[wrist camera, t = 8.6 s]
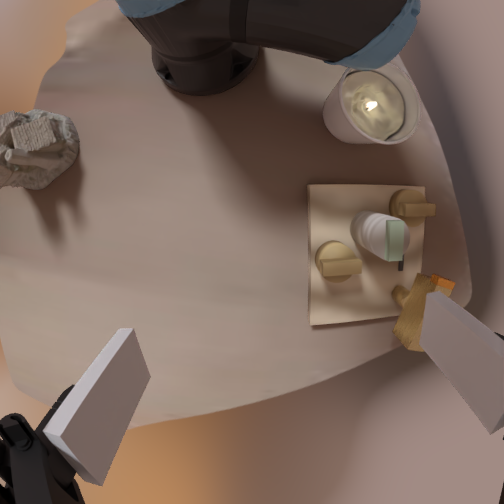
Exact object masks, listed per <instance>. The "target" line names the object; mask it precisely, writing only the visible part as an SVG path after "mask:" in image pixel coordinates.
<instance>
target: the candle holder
mask: <svg viewBox="0 0 504 504" xmlns="http://www.w3.org/2000/svg"><path fill="white" fill-rule="evenodd" d="M421 112H422V108H421V101H420V97H419V94H418V91H417V89H416V87H415V85H414V84H413V82H412V81H411V79H410V78H409V77H408V76H407V75H406V74H405V73H404V72H403V71H402V70H401V69H400V68H398V67H397V66H395V65H394V64H392V63H390V62H389V63H387V64H386V65H384V66H382V67H380V68H378V69H373V70H369V71H360V70H356V69H353V68H349V67H348V68H347V69H346V71H345V72H344V74H343V75H342V77H341V79H340V80H339V82H338V83H337V84H336V86H335V87H334V89H333V90H332V91H331V93H330V94H329V96H328V97H327V99H326V101H325V103H324V106H323V119H324V122H325V125H326V127H327V129H328V130H329V131H330V133H331V134H332V135H333V136H334V137H336V138H337V139H339V140H341V141H343V142H345V143H349V144H387V145H391V144H398V143H401V142H403V141H405V140H407V139H408V138H410V137H411V136H412V135H413V134H414V132H415V131H416V130H417V128H418V126H419V123H420V120H421Z"/></svg>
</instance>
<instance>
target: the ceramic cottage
mask: <svg viewBox="0 0 504 504" xmlns="http://www.w3.org/2000/svg"><path fill="white" fill-rule="evenodd" d="M79 142H80V141H79V137H78V132H77V130H76V128H75V126H74V124H73V123H72V121H71V120H70V118H69V117H66V116H63V115H60V114H55V113H52V112H47V111H42V110H39V109H35V110H31V111H29V112H28V113H26V114H23V113H19V112H18V113H17V112H16V113H15V112H14V110H13V111H10V112H8V113H5V114H3V115H0V189H1V188H2V187H3V186H9V185H11V186H12V187H15V186H16V187H20V186H21V187H25V188H28V189H34V190H40V189H43V188H45V187H46V186H47V185H48V184H50V183H51V182H52V181H53V180H54V179H55V178H57V177H58V176H60V175H61V173H63V172H64V171H65V170H67V169H68V168H69V167H70V166H71V165H72V164H73V163H74V161H75V159H76V157H77V155H78V150H79Z"/></svg>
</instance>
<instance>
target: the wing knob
mask: <svg viewBox="0 0 504 504" xmlns="http://www.w3.org/2000/svg"><path fill="white" fill-rule="evenodd" d="M454 285H455V282H453V281H451V280H450V279H447V278H444V277H442V276H439V275H436V274H432V277H430V276H427V275H424V274H421V273H418V272H417V275H416V277H415V280H414V283H413V285H412V288H411V290H410V291H409V290H408V289H407V288H405V287H404V286H403V285H398V286H396V287H395V288H394V289H393V291H392V298H393V300H394V301H395V302H397V303H398V304H399V305H400V306H401V307H402V308H403V309H402V312H401V314H400V316H399V318H398V321H397V323H396V325H395V327H394V329H393V331H392V332H393V333H394V334H395V336H396V337H397V338H398V339H399V340H400V341H401V343H402V344H403V345H404V346H405V347H406V348H407V350H413V351H422V352H424V350H423V348H422V347H421V346H420V345H419V342H420V336H421V331H422V324H423V318H424V311H425V303H426V295H427V293H432V292H436V291H440V292H442V293H443V294H444V295H446V296H447V297H448V298H449V297H450V294H451V292H452V290H453V288H454Z"/></svg>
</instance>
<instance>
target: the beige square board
mask: <svg viewBox="0 0 504 504" xmlns="http://www.w3.org/2000/svg"><path fill="white" fill-rule="evenodd" d="M307 202H308V321H309V324H310V325H321V324H332V323H342V322H351V321H360V320H368V319H376V318H383V317H390V316H397V315H400V314H401V312H402V309H403V308H402V307H401V306H400V305H399V304H398V303H397V302H395V301H394V300H393V298H392V291H393V289H394V288H395V287H396V286H398V285H403V286H404V287H405V288H407V289H408V290H409V291H410V290H411V288H412V285H413V283H414V280H415V277H416V275H417V272H418V273H421V266H422V255H423V242H424V224H425V219H426V216H436V204H431V203H427V201H426V198H425V187H421V186H401V185H365V184H313V185H307Z"/></svg>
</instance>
